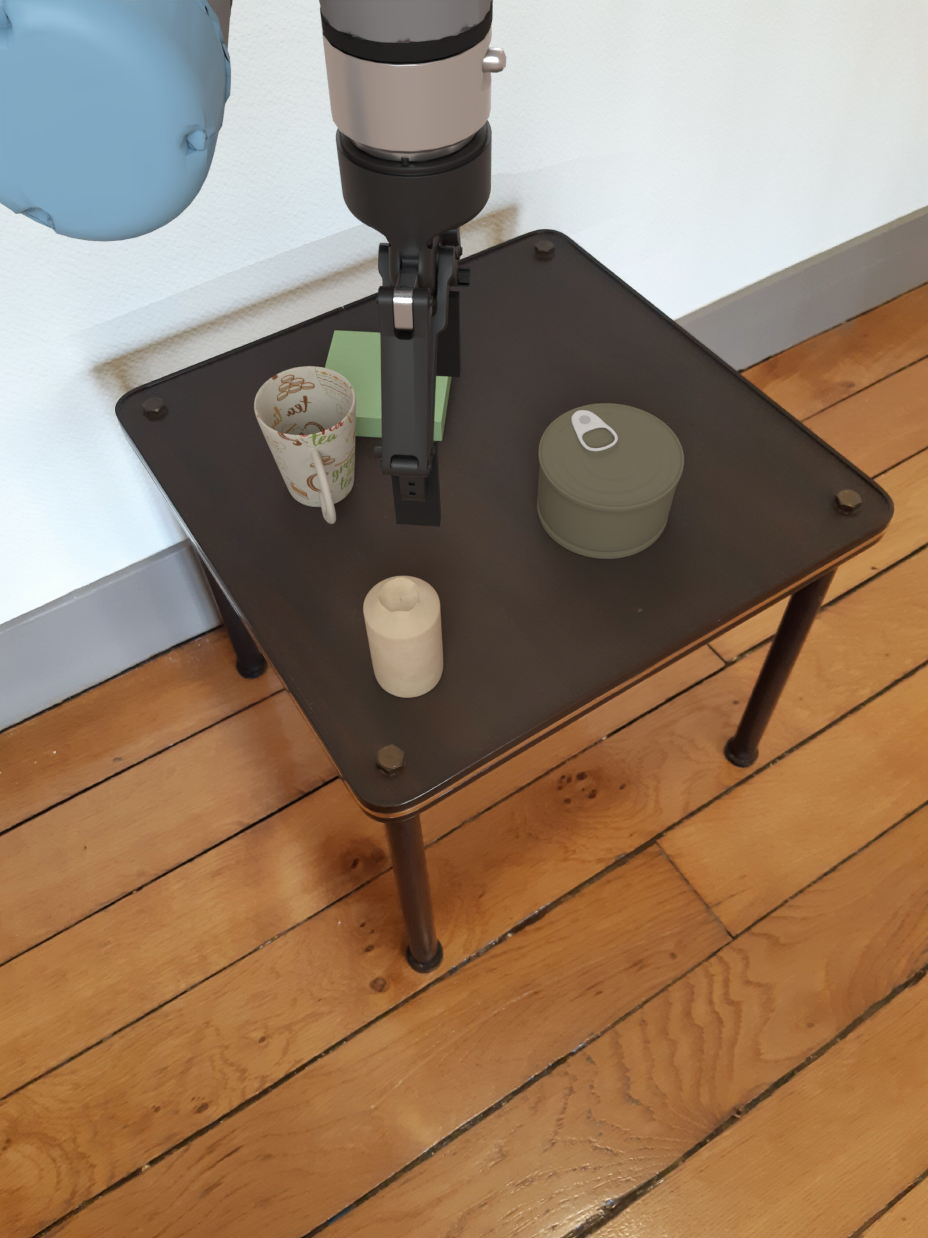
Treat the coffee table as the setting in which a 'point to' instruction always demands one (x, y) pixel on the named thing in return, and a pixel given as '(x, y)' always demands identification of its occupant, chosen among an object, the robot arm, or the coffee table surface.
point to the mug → (311, 433)
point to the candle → (404, 635)
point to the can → (607, 479)
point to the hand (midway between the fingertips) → (430, 442)
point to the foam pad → (374, 380)
